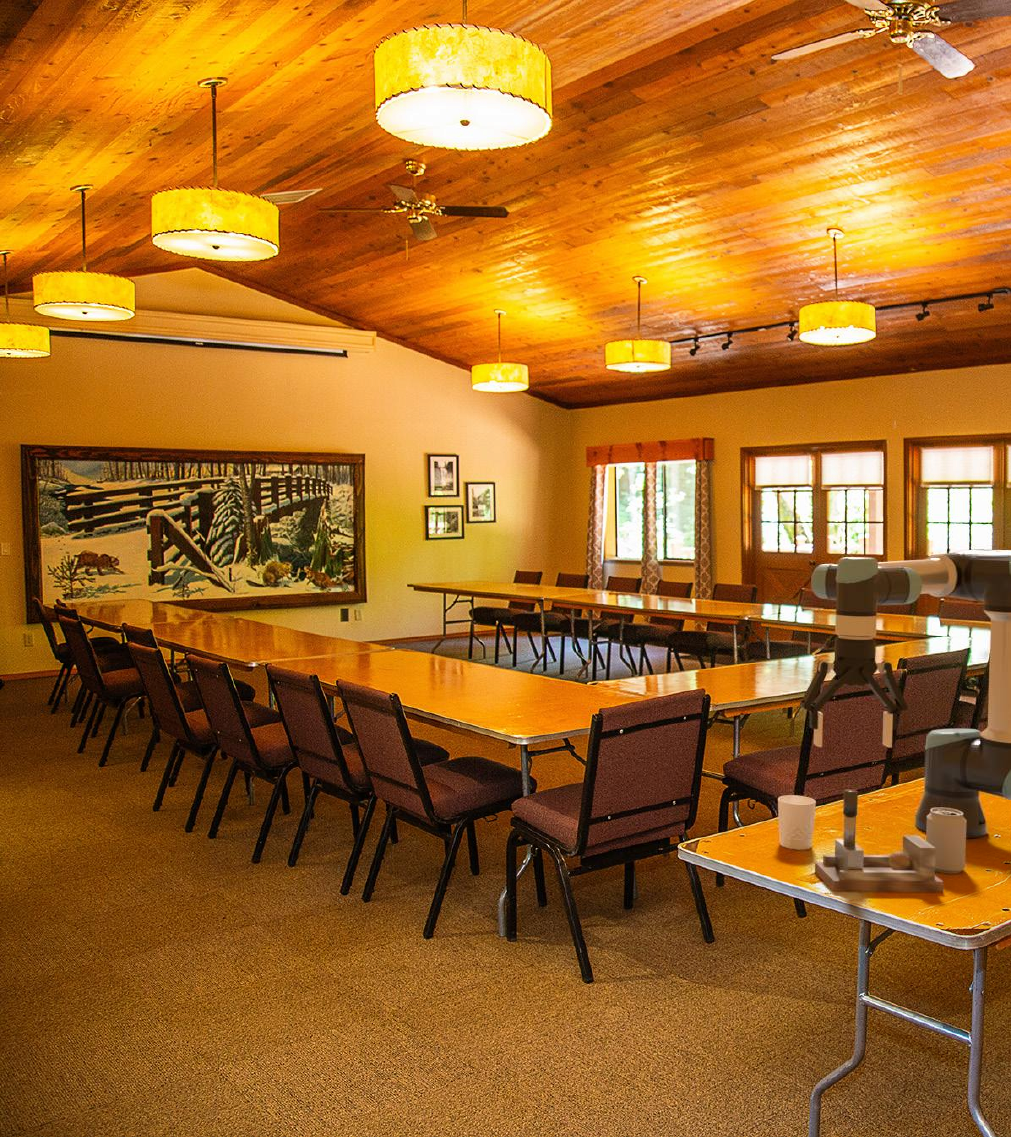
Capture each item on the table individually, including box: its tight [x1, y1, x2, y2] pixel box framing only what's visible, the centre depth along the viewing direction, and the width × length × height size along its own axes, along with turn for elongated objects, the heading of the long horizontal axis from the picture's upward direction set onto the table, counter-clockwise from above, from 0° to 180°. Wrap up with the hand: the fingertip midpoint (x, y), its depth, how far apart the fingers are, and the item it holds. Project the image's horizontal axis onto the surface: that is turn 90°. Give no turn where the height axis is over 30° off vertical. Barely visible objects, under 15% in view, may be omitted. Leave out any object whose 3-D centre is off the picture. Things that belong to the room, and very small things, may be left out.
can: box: [925, 807, 967, 875], centre depth 210 cm, size 8×8×12 cm
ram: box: [834, 789, 865, 870], centre depth 202 cm, size 3×7×16 cm, turn 1°
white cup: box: [777, 794, 817, 851], centre depth 225 cm, size 8×8×10 cm
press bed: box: [814, 834, 944, 893], centre depth 202 cm, size 21×11×8 cm, turn 91°
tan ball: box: [889, 850, 910, 871], centre depth 202 cm, size 4×4×4 cm
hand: (852, 746), depth 201 cm, fingers open, 13 cm apart
